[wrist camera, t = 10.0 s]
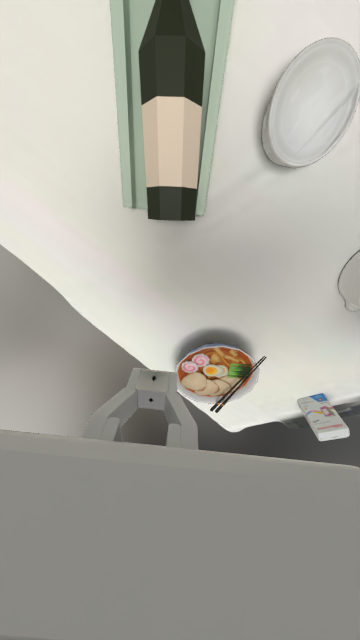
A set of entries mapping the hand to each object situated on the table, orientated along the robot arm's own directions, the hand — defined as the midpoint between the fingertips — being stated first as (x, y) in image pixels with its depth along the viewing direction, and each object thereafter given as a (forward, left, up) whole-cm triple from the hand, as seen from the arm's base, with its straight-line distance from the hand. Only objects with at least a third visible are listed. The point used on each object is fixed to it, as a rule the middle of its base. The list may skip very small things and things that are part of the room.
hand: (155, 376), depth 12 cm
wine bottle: (+1, -8, -27) cm, 28 cm away
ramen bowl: (-13, +28, -32) cm, 44 cm away
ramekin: (-16, -22, -32) cm, 42 cm away
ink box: (-51, +43, -32) cm, 74 cm away
